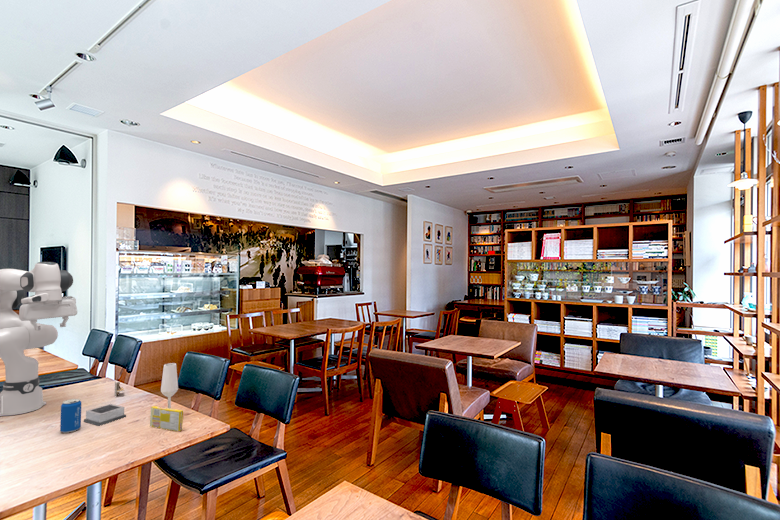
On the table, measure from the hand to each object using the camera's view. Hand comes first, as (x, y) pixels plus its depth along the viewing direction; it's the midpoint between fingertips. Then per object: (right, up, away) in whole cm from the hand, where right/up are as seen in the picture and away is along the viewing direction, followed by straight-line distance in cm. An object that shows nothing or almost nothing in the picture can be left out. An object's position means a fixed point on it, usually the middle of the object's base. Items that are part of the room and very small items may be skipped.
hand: (50, 328), depth 171 cm
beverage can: (+20, -40, -14) cm, 46 cm away
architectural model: (+8, -41, +30) cm, 52 cm away
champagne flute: (+53, -40, -1) cm, 67 cm away
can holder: (+26, -40, -2) cm, 47 cm away
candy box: (+58, -40, -11) cm, 71 cm away
